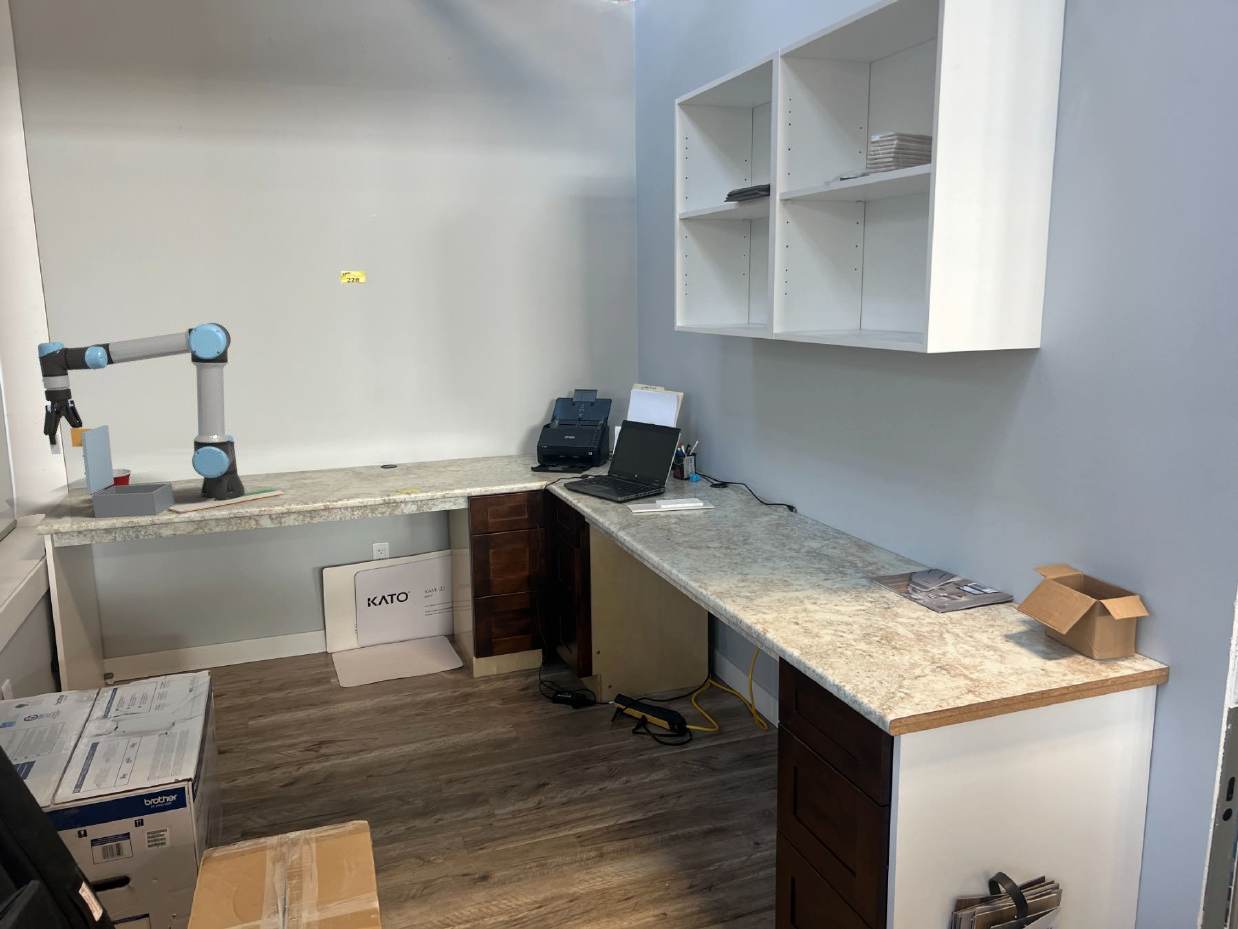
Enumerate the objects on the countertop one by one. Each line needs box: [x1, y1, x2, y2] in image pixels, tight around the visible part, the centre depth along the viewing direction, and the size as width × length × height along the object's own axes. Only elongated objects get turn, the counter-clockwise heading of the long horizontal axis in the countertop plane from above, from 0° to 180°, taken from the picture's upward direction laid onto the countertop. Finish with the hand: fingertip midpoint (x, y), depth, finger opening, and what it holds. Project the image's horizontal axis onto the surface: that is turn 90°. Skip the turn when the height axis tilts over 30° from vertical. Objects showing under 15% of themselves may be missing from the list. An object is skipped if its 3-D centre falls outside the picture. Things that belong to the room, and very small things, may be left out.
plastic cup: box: [104, 468, 132, 490], centre depth 321 cm, size 11×11×12 cm
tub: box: [91, 482, 175, 519], centre depth 305 cm, size 20×15×9 cm
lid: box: [70, 424, 114, 496], centre depth 300 cm, size 22×16×8 cm
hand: (67, 450), depth 299 cm, fingers open, 13 cm apart
